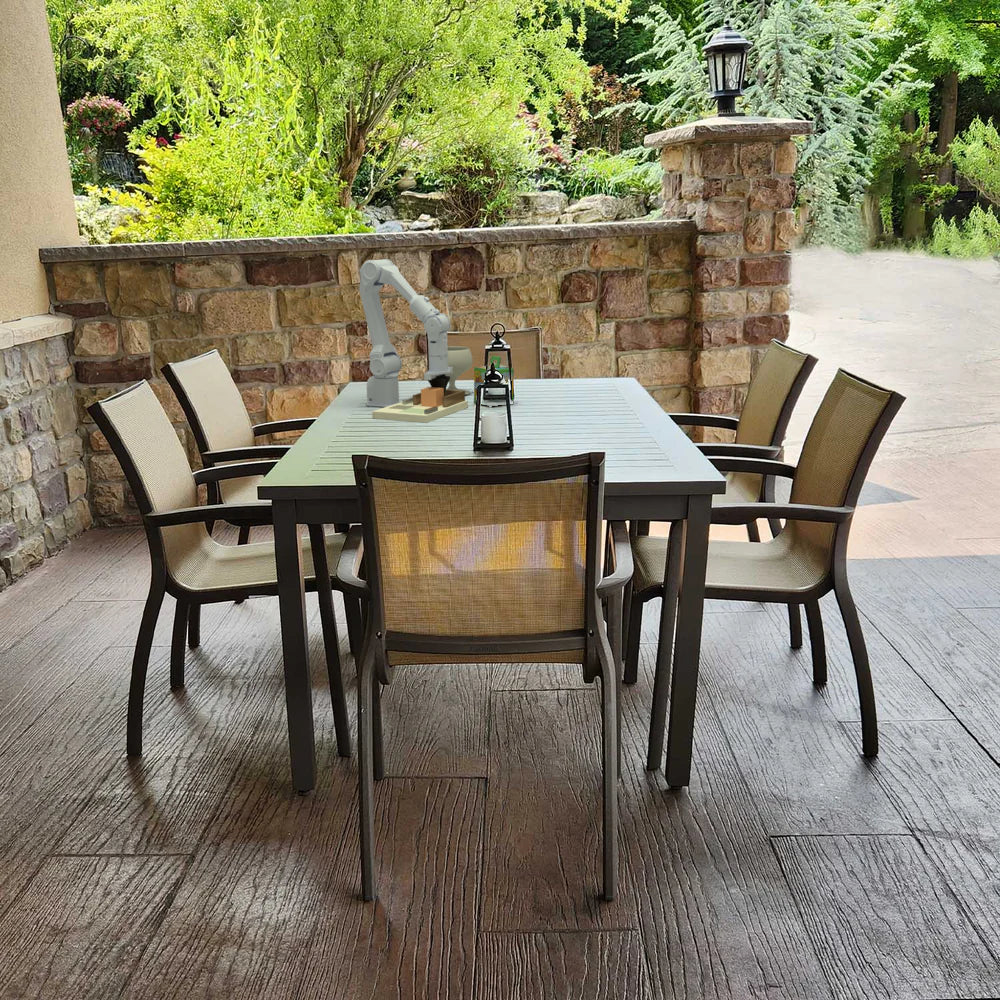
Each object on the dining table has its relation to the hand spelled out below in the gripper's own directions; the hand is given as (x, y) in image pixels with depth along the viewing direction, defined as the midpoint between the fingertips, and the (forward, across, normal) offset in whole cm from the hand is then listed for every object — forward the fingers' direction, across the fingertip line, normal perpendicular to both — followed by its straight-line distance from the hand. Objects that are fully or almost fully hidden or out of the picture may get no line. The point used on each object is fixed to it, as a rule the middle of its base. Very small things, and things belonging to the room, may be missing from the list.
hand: (439, 400), depth 303 cm
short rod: (+1, -15, -5) cm, 16 cm away
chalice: (+3, +26, +9) cm, 28 cm away
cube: (+1, -4, 0) cm, 4 cm away
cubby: (+1, 0, 0) cm, 1 cm away
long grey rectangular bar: (+1, -2, +9) cm, 9 cm away
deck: (+3, -7, +3) cm, 8 cm away
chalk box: (+3, +14, -12) cm, 19 cm away
